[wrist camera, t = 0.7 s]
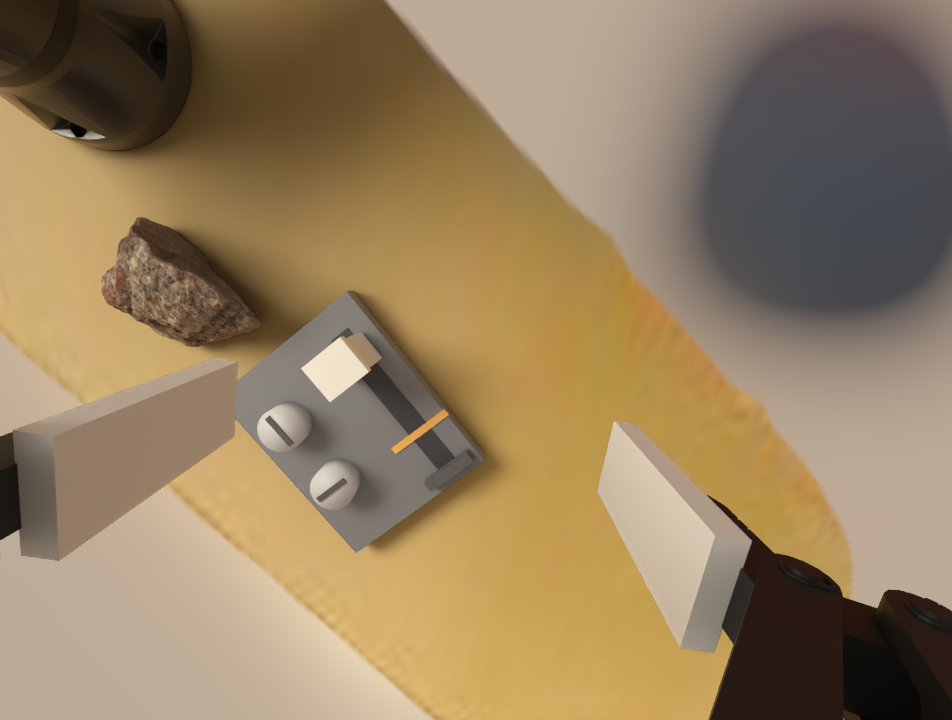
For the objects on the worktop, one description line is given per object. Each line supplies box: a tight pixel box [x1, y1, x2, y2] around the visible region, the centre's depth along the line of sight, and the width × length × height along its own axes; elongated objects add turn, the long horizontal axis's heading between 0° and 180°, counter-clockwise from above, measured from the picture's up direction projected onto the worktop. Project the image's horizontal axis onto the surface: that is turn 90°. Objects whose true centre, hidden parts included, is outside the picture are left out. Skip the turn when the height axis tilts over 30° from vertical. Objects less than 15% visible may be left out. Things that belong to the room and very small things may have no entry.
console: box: [235, 291, 484, 553], centre depth 41 cm, size 20×16×4 cm
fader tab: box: [301, 332, 382, 402], centre depth 36 cm, size 3×4×6 cm
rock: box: [101, 217, 261, 347], centre depth 37 cm, size 14×9×10 cm
